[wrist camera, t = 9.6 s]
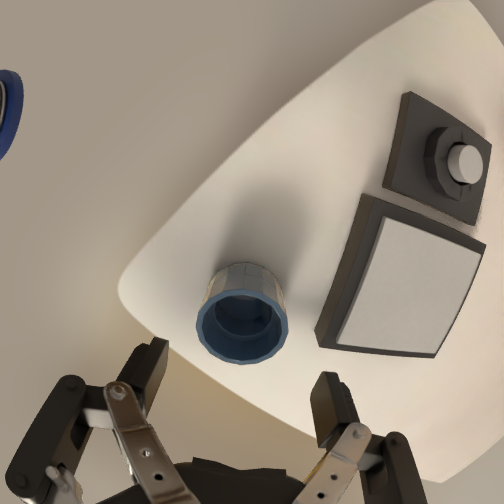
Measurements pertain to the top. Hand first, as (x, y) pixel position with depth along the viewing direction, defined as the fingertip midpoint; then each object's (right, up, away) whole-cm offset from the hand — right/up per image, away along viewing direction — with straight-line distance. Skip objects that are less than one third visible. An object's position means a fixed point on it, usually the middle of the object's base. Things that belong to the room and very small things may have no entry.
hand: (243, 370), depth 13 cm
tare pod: (+16, +13, +5) cm, 21 cm away
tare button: (+16, +13, +2) cm, 20 cm away
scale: (+13, +3, +8) cm, 16 cm away
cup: (0, +3, +9) cm, 9 cm away
